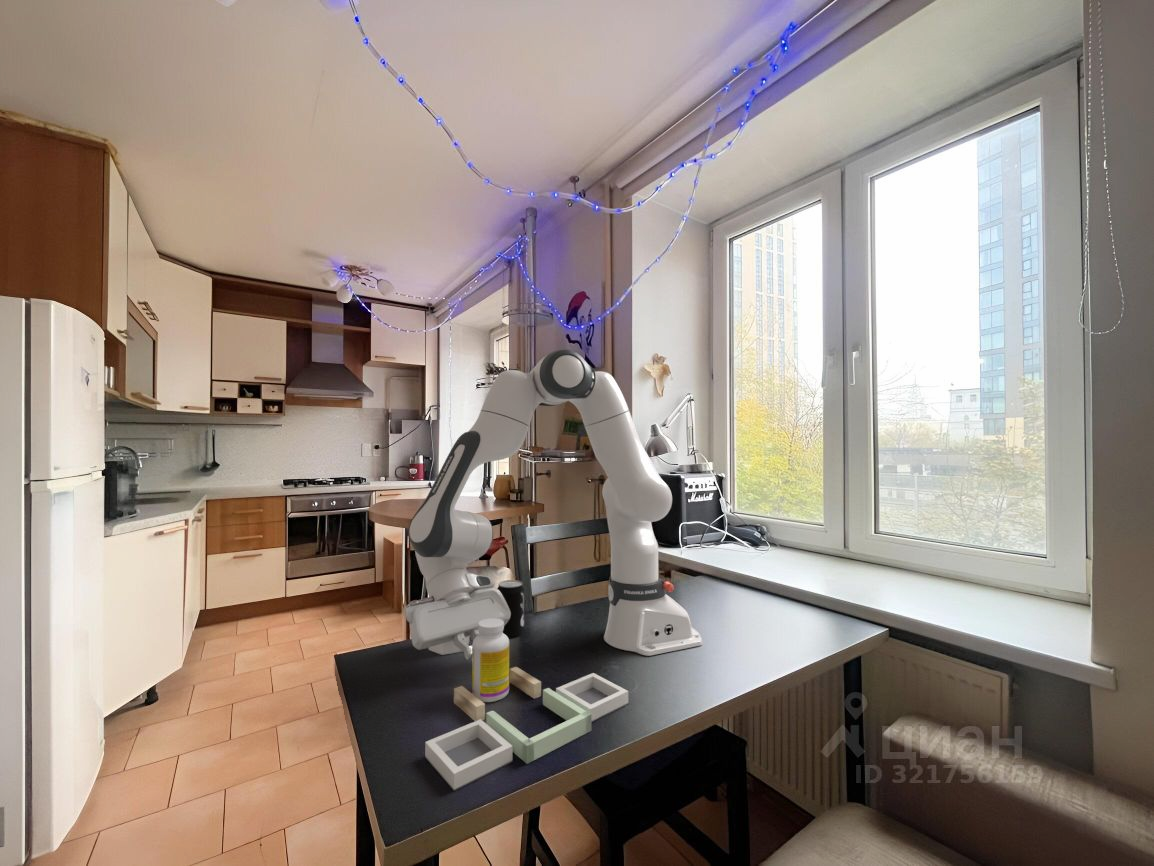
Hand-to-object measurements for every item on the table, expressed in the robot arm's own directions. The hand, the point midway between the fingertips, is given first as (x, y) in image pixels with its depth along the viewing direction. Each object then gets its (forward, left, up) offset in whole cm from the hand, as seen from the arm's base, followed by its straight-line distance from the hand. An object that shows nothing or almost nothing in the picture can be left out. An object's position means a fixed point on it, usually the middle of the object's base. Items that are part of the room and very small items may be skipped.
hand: (474, 656), depth 92 cm
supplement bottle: (-3, +5, -5) cm, 8 cm away
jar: (+5, -18, -5) cm, 19 cm away
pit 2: (-20, +12, -5) cm, 24 cm away
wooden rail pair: (-4, +7, -5) cm, 10 cm away
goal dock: (-9, +18, -5) cm, 21 cm away
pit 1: (+1, +23, -5) cm, 24 cm away
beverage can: (-9, -23, -5) cm, 25 cm away
